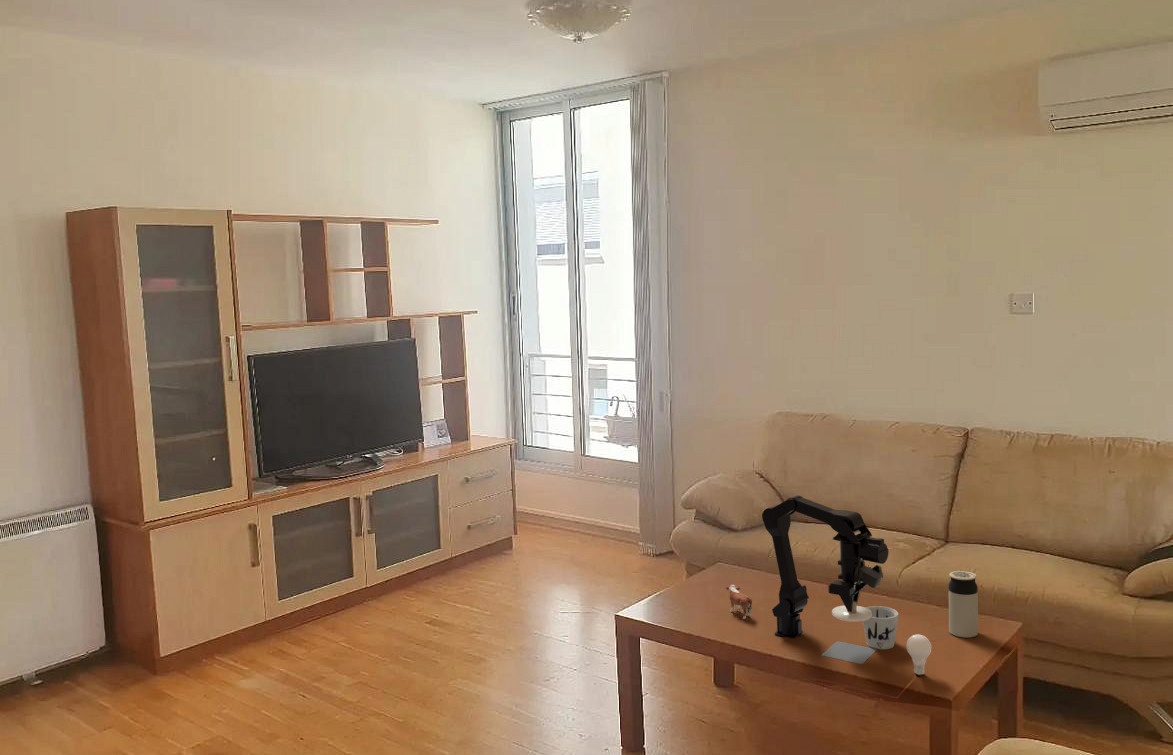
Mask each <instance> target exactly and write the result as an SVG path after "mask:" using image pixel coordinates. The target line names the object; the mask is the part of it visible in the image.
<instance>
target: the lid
mask: <svg viewBox="0 0 1173 755" xmlns="http://www.w3.org/2000/svg"><path fill="white" fill-rule="evenodd" d="M831 614H832V616H833V617H834V618H835V619H837V620H840V621H844V622H853V623H854V622H855V623H859V622H863V621H866V620H869V619H870V618H872V612H871V610H869V609H867V607H864V606H859V605H858V603H857V604H856V601H853V608H852V612H848V611H847V609H846V607H845V605H844V604H843V605H839V606H835V607H834V608H832V610H831Z"/></svg>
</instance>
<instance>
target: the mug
mask: <svg viewBox="0 0 1173 755" xmlns="http://www.w3.org/2000/svg"><path fill="white" fill-rule="evenodd" d="M866 608H867V609H869V610H871V612H872V618H870V619H869V620H866V621H862V626H863V630H864V635H865V641H866V645H867V647H869V648H874V649H877V650H889V649H893V647H895V642H896V637H897V636H896V635H897V628H898V622H899V615H900V614H899V612H898V611H897V610H896V609H894V608H891V607H888V606H880V605H872V606H867V607H866Z"/></svg>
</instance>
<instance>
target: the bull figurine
mask: <svg viewBox="0 0 1173 755" xmlns="http://www.w3.org/2000/svg"><path fill="white" fill-rule="evenodd" d="M725 589H726V590H727V591H729V600H730V604H731V605H730V610H729V612H730V613H733V612H734V606H737V607H738V610H737V612H738V613H741V612H743V617H742V620H746V618H747V617H749V616H750V615H752V612H753V608H752V605H753V600H752V598H751V597H749V596H748V595H746V594H744V593H742V592H741V591H739V590H741V587H738V586H737V587H736V585H735V584H730V585H729V586H726V587H725Z"/></svg>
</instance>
